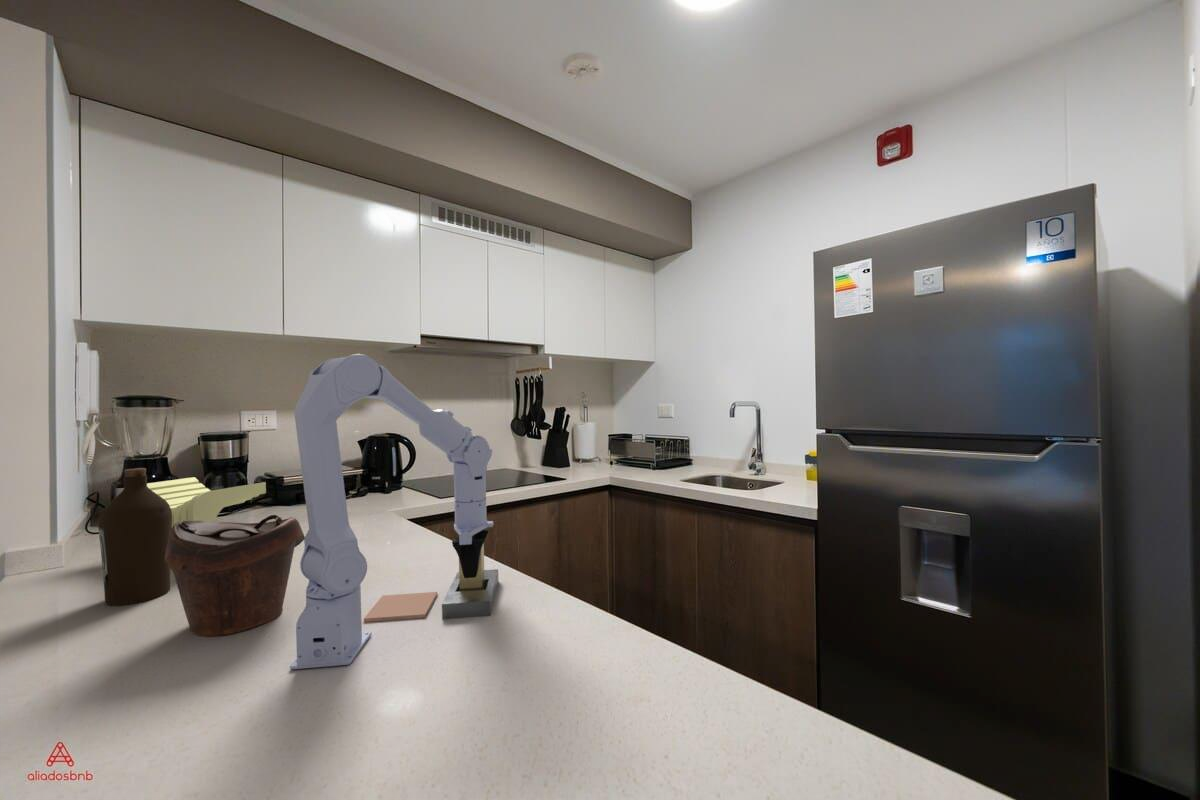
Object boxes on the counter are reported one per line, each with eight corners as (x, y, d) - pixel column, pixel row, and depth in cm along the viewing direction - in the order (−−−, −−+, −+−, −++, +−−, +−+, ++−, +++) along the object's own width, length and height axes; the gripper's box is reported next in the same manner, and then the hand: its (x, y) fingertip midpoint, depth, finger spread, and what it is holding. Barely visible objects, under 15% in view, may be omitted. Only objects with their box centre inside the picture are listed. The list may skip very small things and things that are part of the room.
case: (327, 608, 90) (323, 508, 90) (190, 659, 73) (184, 536, 73) (279, 591, 100) (275, 501, 100) (148, 632, 83) (144, 524, 83)
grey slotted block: (490, 615, 86) (490, 600, 86) (442, 618, 85) (441, 604, 85) (498, 581, 101) (498, 569, 101) (458, 584, 101) (457, 571, 101)
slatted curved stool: (122, 559, 123) (120, 487, 123) (196, 541, 137) (194, 477, 137) (194, 574, 111) (192, 493, 111) (267, 553, 125) (265, 481, 125)
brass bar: (482, 594, 91) (481, 545, 91) (459, 596, 91) (458, 546, 91) (484, 586, 95) (483, 539, 95) (463, 588, 95) (462, 540, 95)
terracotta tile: (425, 617, 85) (425, 614, 85) (363, 622, 84) (363, 618, 84) (437, 595, 95) (437, 591, 95) (382, 598, 94) (382, 595, 94)
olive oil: (178, 582, 106) (175, 463, 106) (168, 599, 97) (164, 469, 96) (110, 593, 100) (106, 468, 100) (91, 612, 91) (88, 474, 91)
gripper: (488, 506, 86) (490, 585, 86) (495, 491, 101) (497, 559, 101) (446, 508, 85) (447, 588, 85) (459, 493, 100) (461, 561, 100)
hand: (472, 572), depth 93 cm, fingers closed on brass bar, 4 cm apart
